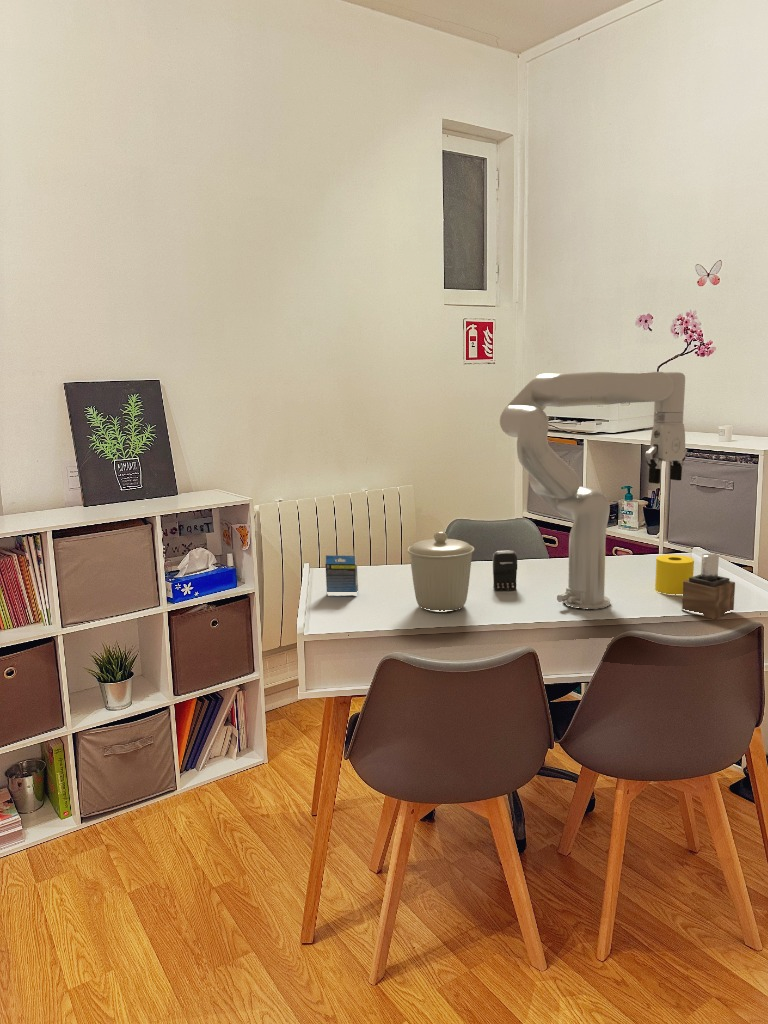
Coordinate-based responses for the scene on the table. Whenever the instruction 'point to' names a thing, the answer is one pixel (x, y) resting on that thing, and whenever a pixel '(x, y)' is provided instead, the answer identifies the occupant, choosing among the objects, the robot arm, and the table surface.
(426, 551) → the canister
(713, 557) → the peg
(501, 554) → the battery charger
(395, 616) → the table surface
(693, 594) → the socket block
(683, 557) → the tape roll
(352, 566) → the label tape box
